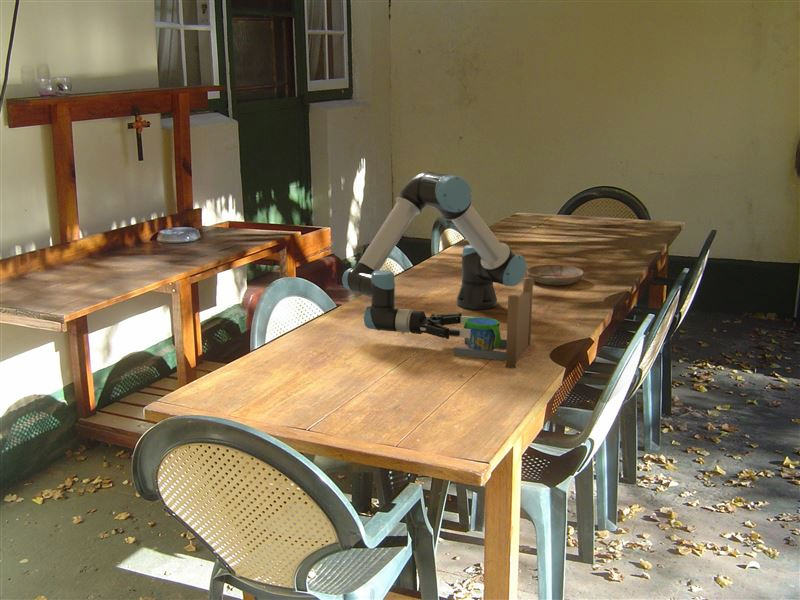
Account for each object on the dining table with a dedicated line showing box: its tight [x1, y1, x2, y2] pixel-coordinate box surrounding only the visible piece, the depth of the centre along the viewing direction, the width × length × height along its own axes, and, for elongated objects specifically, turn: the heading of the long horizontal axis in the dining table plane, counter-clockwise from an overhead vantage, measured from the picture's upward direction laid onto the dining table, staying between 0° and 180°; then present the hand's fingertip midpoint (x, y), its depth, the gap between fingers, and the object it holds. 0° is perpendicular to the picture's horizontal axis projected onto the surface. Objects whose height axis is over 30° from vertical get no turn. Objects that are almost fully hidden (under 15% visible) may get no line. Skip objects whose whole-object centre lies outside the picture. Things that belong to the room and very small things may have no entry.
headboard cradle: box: [453, 276, 534, 369], centre depth 293 cm, size 27×20×22 cm
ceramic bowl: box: [525, 264, 585, 286], centre depth 384 cm, size 23×24×5 cm
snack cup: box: [463, 316, 502, 351], centre depth 293 cm, size 16×10×10 cm
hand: (475, 327), depth 295 cm, fingers open, 13 cm apart
